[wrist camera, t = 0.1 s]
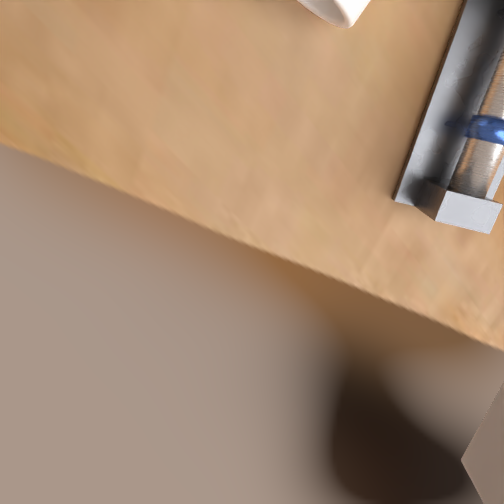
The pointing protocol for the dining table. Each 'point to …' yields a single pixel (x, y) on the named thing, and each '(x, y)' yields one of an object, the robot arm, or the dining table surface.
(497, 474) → the robot arm
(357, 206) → the dining table surface
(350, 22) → the mug
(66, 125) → the dining table surface
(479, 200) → the pipe rig
